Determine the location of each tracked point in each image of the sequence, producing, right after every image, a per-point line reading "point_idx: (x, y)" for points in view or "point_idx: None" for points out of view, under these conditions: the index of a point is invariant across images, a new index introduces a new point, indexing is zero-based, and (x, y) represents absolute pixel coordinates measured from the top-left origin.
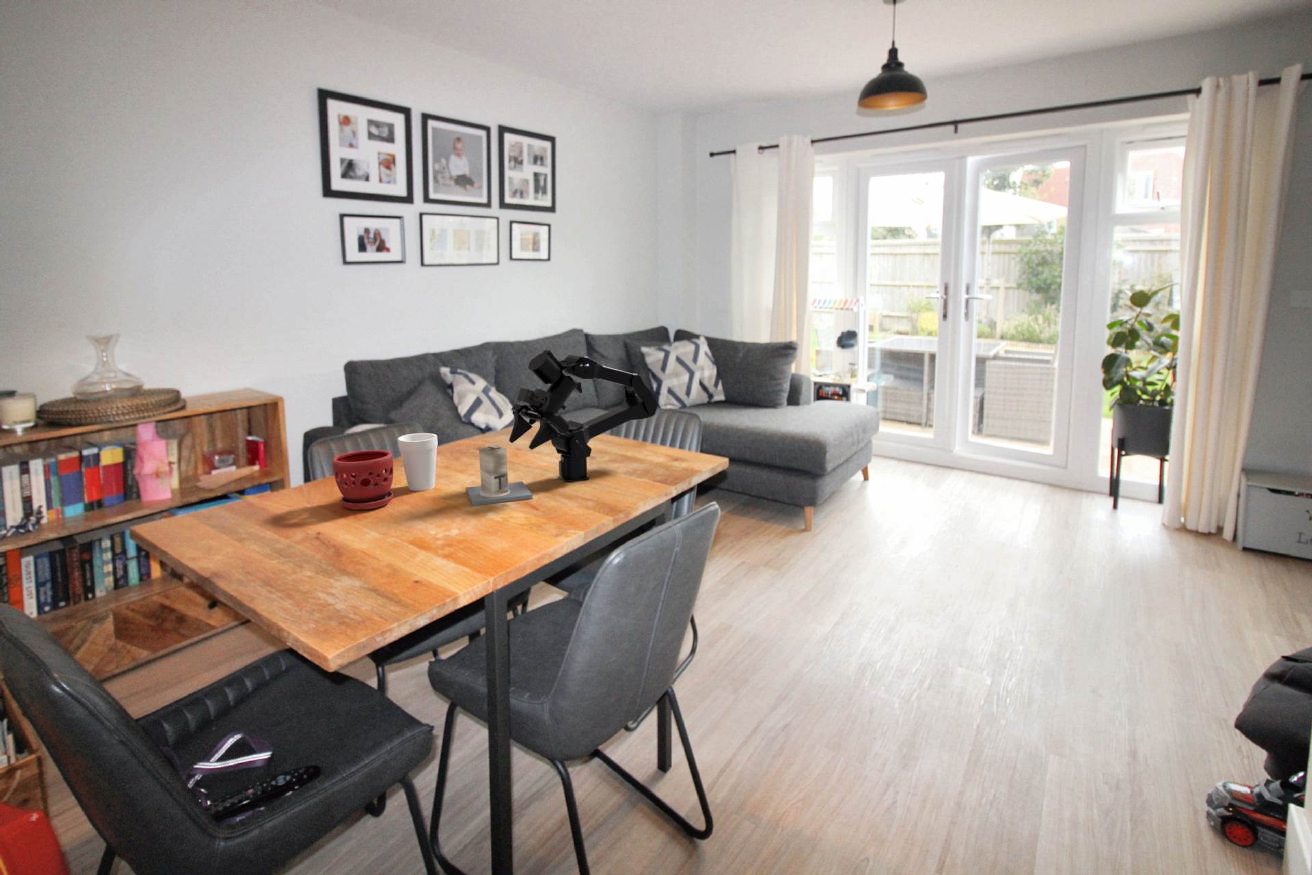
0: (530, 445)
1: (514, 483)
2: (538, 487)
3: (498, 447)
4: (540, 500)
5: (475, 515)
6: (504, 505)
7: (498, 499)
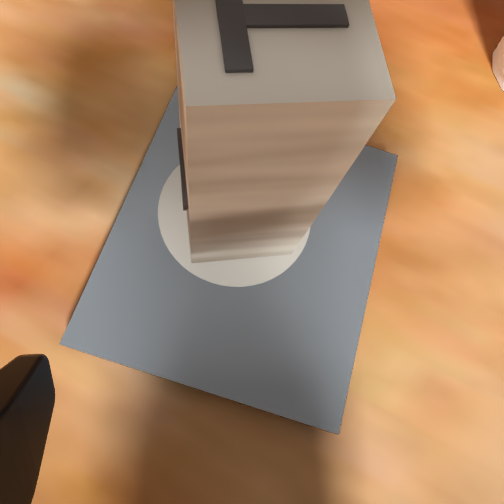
0: (4, 370)
1: (322, 373)
2: (228, 492)
3: (272, 69)
4: None
5: (58, 46)
6: (81, 187)
7: (135, 180)
